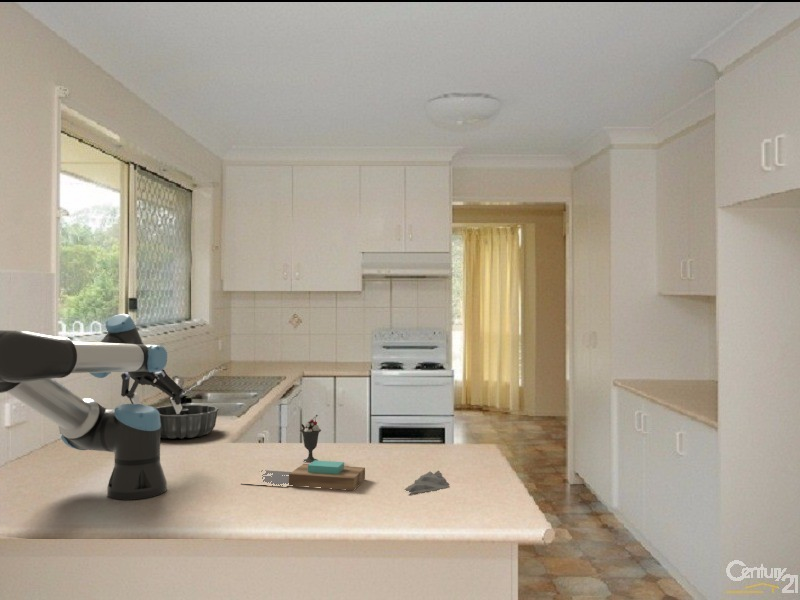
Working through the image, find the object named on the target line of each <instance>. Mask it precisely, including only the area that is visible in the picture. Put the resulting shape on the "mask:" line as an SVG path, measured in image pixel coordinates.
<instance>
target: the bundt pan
mask: <svg viewBox="0 0 800 600" xmlns="http://www.w3.org/2000/svg"><path fill="white" fill-rule="evenodd" d="M181 406H182V410H181V411H180V413H179V414H177V413H176V411H175V409H174V407H173V404H172V405H165V406H158V407H155V408H156V409H157V410H158V412H159V413H160V423H161V427H160V439H161V438H162V439H164V440H165V439H167V440H168V439H170V440H173V439H178V438H179V439H180V440H183V439H184V438H188V439H192V438H200V437H202V436H206V435H208V434H209V433H211V432H212V431H213V430H214V429H215V426H216V422H217V417H218V411H219V408H218V407H216V406H213V405H205V404H181Z"/></svg>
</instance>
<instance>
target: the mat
mask: <svg viewBox="0 0 800 600" xmlns="http://www.w3.org/2000/svg"><path fill="white" fill-rule="evenodd" d="M263 470H264V469H262V470H260V471H261V472H262V471H263ZM265 471H266V473H265V474H263V475H267V474H268V473H269V474H270V473H271V474H272V473H273V475H271V476H272V477H271V476H263V475H262V476H263V477H265V479H264V480H263V482H264V481H265V482H267V483H268V482H269V483H270V482H271V481H272V482H271V484H273V483H274V484H275V485H276V484H277V485H278V484H279V485H280V484H283V483H284V484H285V483H286V484H288V483H289V476H286V475H289V474H290V473H291V472H292V471H282V470H281V471H280V470H279V471H278V470H267V469H265ZM282 475H283V476H282ZM284 475H285V476H284ZM263 477H262V479H263ZM272 486H273V485H272ZM280 486H281V485H280ZM282 486H283V485H282Z"/></svg>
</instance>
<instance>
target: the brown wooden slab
mask: <svg viewBox="0 0 800 600" xmlns="http://www.w3.org/2000/svg"><path fill="white" fill-rule="evenodd" d="M309 464H310V463H303V464H301V465H300V466H298V467H297V468H296V469H294V470H293V471H290V472H291V473H290V474H289V485H293V486H309V487H321V488H332V489H346V490H354V489H355V488H356V487H357V486H358V485H359V484H360V483H361V484H362V483H363V482H364V481H365V480H364V479H366V467H362V466H360V467H359V466H345V465H344V470H342V471H341V472H340V473H339V474H326V473H311V472H308V465H309ZM361 484H360V485H361ZM360 485H359V486H360ZM359 486H358V487H359ZM358 487H357V488H358ZM357 488H356V489H357ZM332 489H331V490H332ZM356 489H355V490H356ZM346 490H345V491H346ZM355 490H354V491H355Z"/></svg>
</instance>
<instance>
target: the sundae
mask: <svg viewBox="0 0 800 600" xmlns="http://www.w3.org/2000/svg"><path fill="white" fill-rule="evenodd" d="M318 416H319V415H318V414H316V415H315V416H314V417H313V418H312V419H310V420H309V421H307V422H306V423H305V424H303V423H301V427H302V428H301V429H300V430H299V432H301V433H302V437H303V446H304V448H305V449H306V450H307V451H308V456H307V458H305V459H303V460H304V461H306V462H313V461H315V460H318V458H314V454H313V451H314V450H315V449H316V448H317V445H318V439H319V434H320V433H321V431H322V429H321V428H320V427H319V425H318V422H317V421H316V419H317V417H318ZM306 462H305V463H306Z"/></svg>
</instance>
